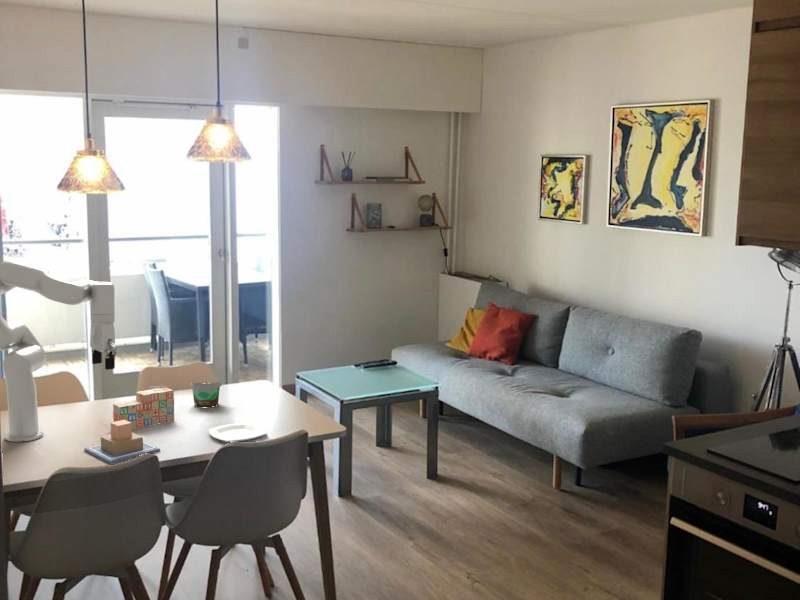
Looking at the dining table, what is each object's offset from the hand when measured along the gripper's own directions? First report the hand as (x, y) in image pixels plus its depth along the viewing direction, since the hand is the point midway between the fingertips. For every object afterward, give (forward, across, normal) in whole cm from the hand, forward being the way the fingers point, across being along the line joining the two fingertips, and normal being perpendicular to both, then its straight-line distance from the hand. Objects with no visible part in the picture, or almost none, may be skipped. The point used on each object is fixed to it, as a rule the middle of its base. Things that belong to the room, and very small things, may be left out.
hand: (103, 366), depth 294 cm
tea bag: (+27, -19, +32) cm, 46 cm away
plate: (+26, +27, +37) cm, 53 cm away
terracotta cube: (+21, +16, -1) cm, 26 cm away
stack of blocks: (+27, -7, +19) cm, 34 cm away
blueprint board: (+26, +16, -1) cm, 31 cm away
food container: (+26, -12, +49) cm, 57 cm away
